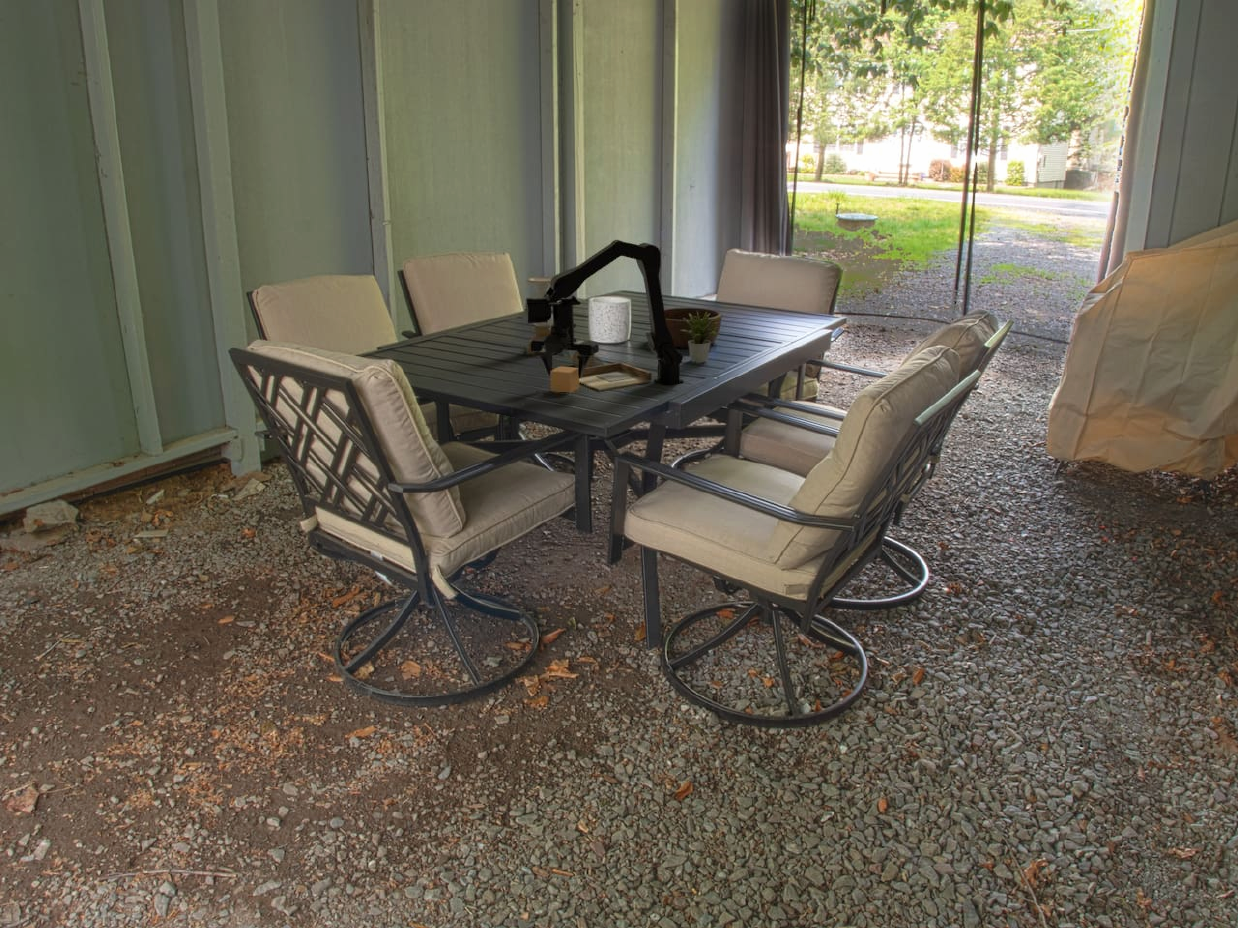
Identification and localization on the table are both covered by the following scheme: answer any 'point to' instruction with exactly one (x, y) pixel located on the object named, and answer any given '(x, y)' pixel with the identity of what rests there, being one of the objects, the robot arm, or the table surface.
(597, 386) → the arena
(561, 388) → the cube
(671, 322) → the wooden bowl
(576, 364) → the ceramic mug
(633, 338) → the table surface
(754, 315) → the table surface
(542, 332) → the candle holder
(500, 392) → the table surface
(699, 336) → the house plant
